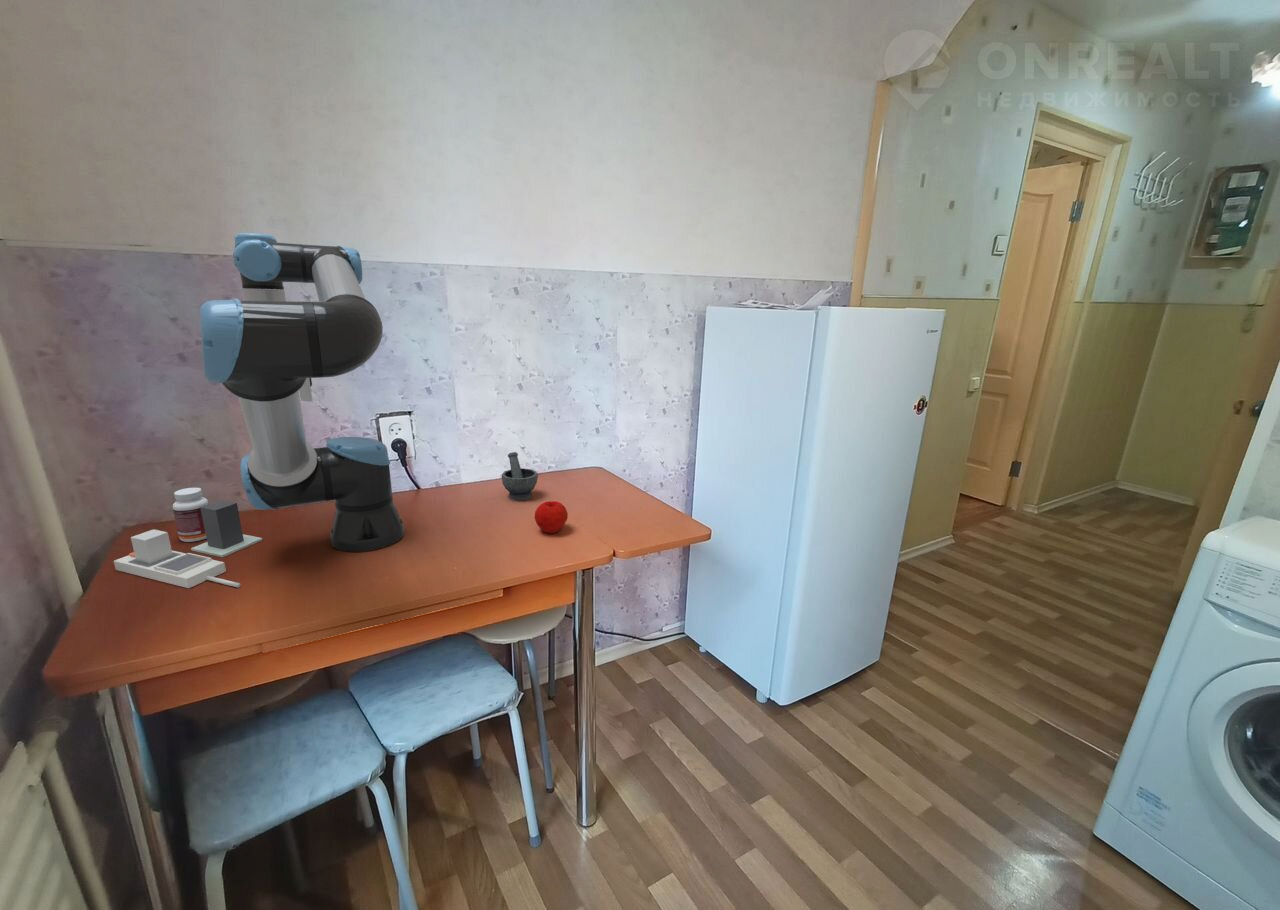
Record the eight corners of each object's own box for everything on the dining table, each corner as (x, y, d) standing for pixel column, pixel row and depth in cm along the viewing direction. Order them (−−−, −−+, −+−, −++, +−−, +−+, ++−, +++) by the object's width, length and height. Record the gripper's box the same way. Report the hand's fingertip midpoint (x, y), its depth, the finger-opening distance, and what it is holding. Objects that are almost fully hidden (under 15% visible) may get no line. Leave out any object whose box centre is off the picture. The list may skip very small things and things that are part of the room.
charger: (244, 540, 120) (237, 502, 118) (223, 549, 116) (215, 510, 113) (229, 537, 121) (222, 499, 119) (208, 546, 117) (200, 507, 115)
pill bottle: (213, 539, 122) (204, 493, 119) (177, 545, 118) (167, 497, 115) (215, 529, 127) (206, 484, 123) (181, 534, 123) (171, 489, 120)
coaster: (262, 540, 122) (262, 538, 122) (222, 557, 114) (221, 555, 113) (232, 534, 124) (232, 532, 124) (191, 550, 116) (190, 548, 116)
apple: (555, 521, 137) (555, 493, 135) (574, 531, 132) (574, 502, 130) (528, 529, 132) (527, 501, 130) (547, 540, 126) (547, 511, 124)
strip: (256, 578, 106) (250, 545, 104) (220, 596, 99) (212, 561, 97) (155, 554, 114) (148, 523, 112) (116, 569, 107) (107, 537, 105)
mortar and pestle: (542, 499, 152) (542, 458, 148) (510, 505, 147) (509, 463, 143) (527, 487, 161) (526, 448, 157) (496, 492, 156) (494, 452, 152)
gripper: (301, 308, 131) (313, 395, 137) (194, 310, 108) (214, 414, 114) (326, 310, 129) (337, 398, 135) (223, 311, 106) (242, 417, 112)
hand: (281, 405), depth 124 cm, fingers open, 13 cm apart
